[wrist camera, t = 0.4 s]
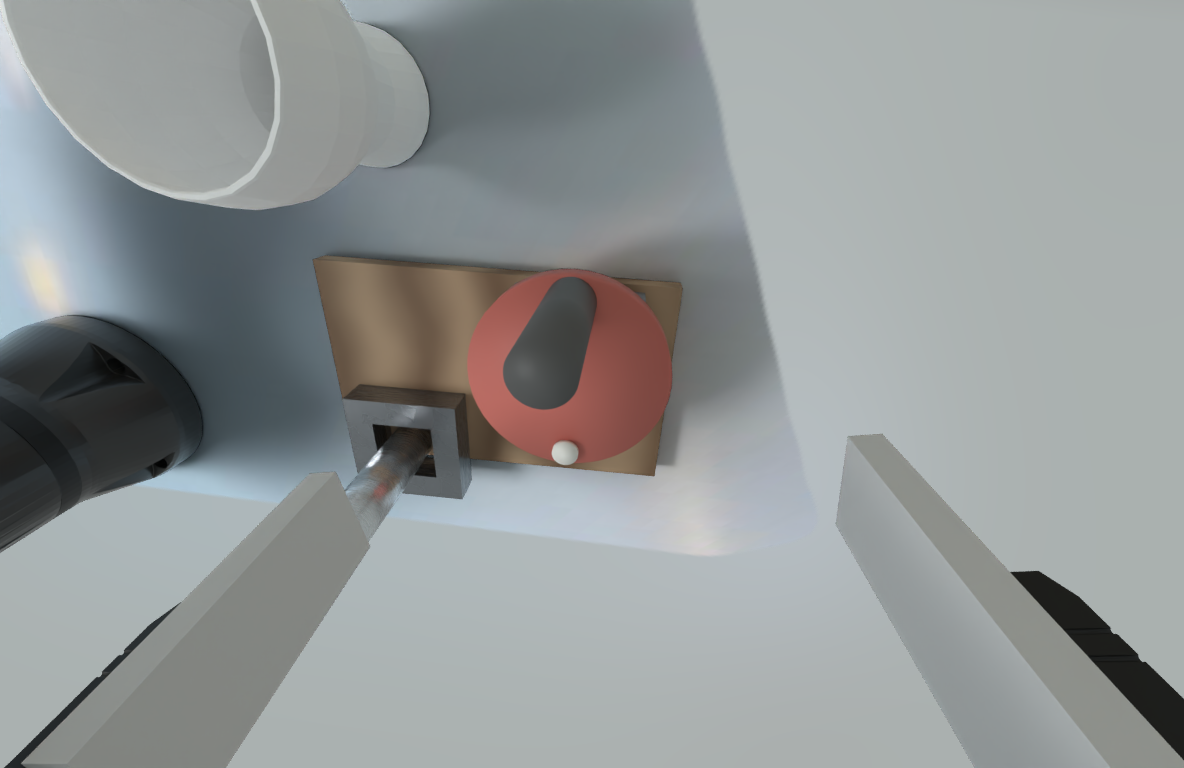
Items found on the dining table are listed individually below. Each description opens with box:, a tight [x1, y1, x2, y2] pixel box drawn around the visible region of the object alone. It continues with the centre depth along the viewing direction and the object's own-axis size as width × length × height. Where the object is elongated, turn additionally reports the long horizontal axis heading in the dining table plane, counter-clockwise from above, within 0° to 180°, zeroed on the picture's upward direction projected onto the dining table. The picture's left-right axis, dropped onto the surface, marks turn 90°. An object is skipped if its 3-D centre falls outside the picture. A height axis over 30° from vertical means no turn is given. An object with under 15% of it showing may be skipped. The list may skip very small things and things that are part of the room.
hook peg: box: [344, 427, 433, 542], centre depth 31 cm, size 3×5×15 cm, turn 177°
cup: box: [0, 0, 430, 210], centre depth 22 cm, size 11×11×15 cm
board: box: [313, 255, 683, 476], centre depth 34 cm, size 26×16×4 cm, turn 87°
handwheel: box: [467, 269, 672, 465], centre depth 25 cm, size 13×13×12 cm
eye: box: [342, 384, 472, 499], centre depth 37 cm, size 9×9×2 cm
